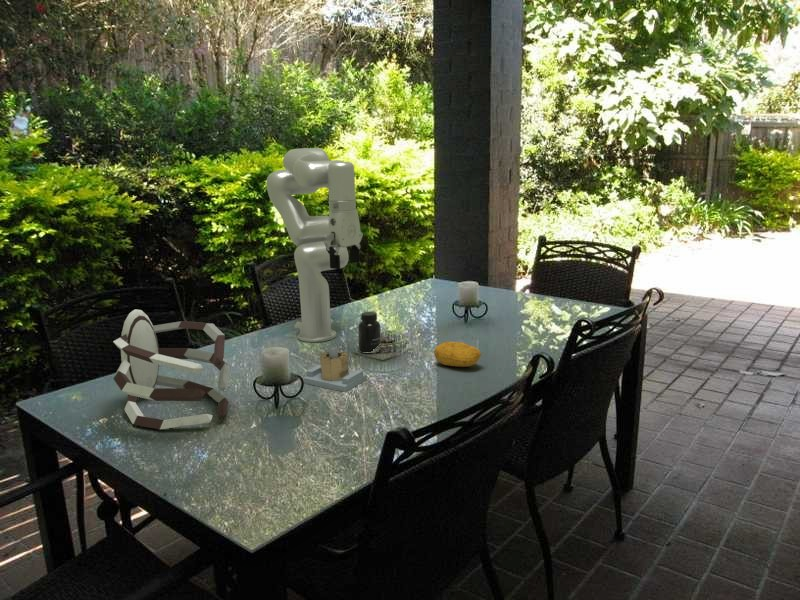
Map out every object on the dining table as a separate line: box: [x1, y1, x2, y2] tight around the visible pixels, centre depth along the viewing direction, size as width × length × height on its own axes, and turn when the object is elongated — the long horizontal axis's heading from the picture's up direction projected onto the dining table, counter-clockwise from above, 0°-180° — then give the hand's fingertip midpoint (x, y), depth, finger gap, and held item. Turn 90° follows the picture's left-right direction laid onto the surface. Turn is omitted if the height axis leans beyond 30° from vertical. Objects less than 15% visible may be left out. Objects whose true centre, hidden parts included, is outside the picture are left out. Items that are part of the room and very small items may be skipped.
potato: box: [433, 341, 482, 368], centre depth 188 cm, size 8×14×7 cm, turn 56°
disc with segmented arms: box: [112, 309, 231, 430], centre depth 160 cm, size 24×27×35 cm
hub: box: [319, 350, 350, 381], centre depth 178 cm, size 7×7×6 cm
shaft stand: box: [302, 346, 368, 393], centre depth 178 cm, size 14×10×10 cm
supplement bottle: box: [357, 311, 382, 353], centre depth 202 cm, size 7×7×12 cm
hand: (345, 265), depth 191 cm, fingers open, 9 cm apart
